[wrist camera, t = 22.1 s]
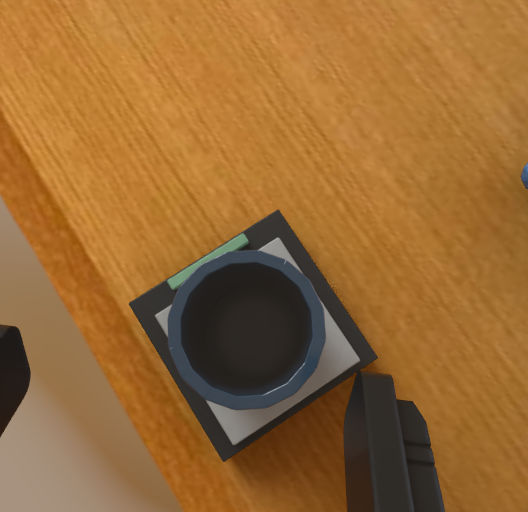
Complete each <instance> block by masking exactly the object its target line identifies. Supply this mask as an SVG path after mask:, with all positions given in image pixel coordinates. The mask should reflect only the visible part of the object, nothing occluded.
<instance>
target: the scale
mask: <svg viewBox="0 0 528 512" xmlns="http://www.w3.org/2000/svg"><path fill="white" fill-rule="evenodd" d="M245 250H260V251H263V252H266V253H269V254H271V255H274V256H277V257H280V258H283V259H285V260H287V261H289V262H290V263H291V264H292V265H293V266H294V267H296V268H297V269H298V270H299V271H300V272H301V273H302V274H304V275H305V276H306V277H307V278H308V279H309V281H311V283H312V285H313V287H314V289H315V291H316V293H317V295H318V297H319V299H320V301H321V303H322V305H323V309H324V317H325V330H326V341H325V345H324V348H323V351H322V354H321V357H320V360H319V363H318V366H317V368H316V370H315V372H314V373H313V374H312V375H311V377H310V378H309V379H308V380H307V381H306V382H305V384H304V385H303V386H302V387H301V388H300V389H299V391H298V392H297V393H295V394H294V395H293V396H291V397H289V398H287V399H285V400H283V401H281V402H279V403H277V404H275V405H273V406H271V407H269V408H267V407H266V408H265V409H251V410H232V409H229V408H226V407H224V406H221V405H218V404H215V403H213V402H210V401H207V400H205V399H204V398H202V397H201V396H200V395H199V394H198V393H197V392H196V391H195V390H194V389H193V388H192V387H191V386H190V385H188V384H187V383H186V382H185V381H184V380H183V379H182V377H181V376H180V374H179V372H178V369H177V367H176V365H175V363H174V360H173V358H172V356H171V354H170V351H169V348H168V322H167V318H168V314H169V311H170V309H171V306H172V303H173V301H174V298H175V295H176V293H177V290H178V288H179V287H180V285H181V284H182V283H183V282H184V281H185V280H186V279H187V278H188V277H189V276H190V275H191V273H192V272H193V271H194V270H195V269H196V268H197V267H198V266H199V265H201V264H202V263H204V262H206V261H208V260H211V259H213V258H215V257H217V256H219V255H221V254H223V253H225V252H228V251H245ZM129 305H130V307H131V308H132V310H133V312H134V313H135V315H136V317H137V318H138V320H139V322H140V323H141V325H142V327H143V329H144V330H145V332H146V334H147V335H148V337H149V339H150V340H151V342H152V344H153V345H154V347H155V349H156V350H157V352H158V354H159V355H160V357H161V359H162V360H163V362H164V364H165V365H166V367H167V369H168V370H169V372H170V374H171V375H172V377H173V379H174V380H175V382H176V384H177V385H178V387H179V389H180V390H181V392H182V394H183V395H184V397H185V399H186V400H187V402H188V404H189V405H190V407H191V409H192V410H193V412H194V414H195V415H196V417H197V419H198V420H199V422H200V424H201V425H202V427H203V429H204V430H205V432H206V434H207V436H208V437H209V439H210V441H211V442H212V444H213V446H214V447H215V449H216V451H217V452H218V454H219V456H220V457H221V459H222V461H223V462H224V461H226V460H227V459H229V458H230V457H232V456H233V455H235V454H236V453H238V452H239V451H241V450H242V449H244V448H245V447H247V446H248V445H250V444H251V443H253V442H254V441H256V440H257V439H258V438H260V437H261V436H263V435H264V434H266V433H267V432H269V431H270V430H272V429H273V428H275V427H276V426H278V425H279V424H281V423H282V422H284V421H285V420H287V419H288V418H290V417H291V416H293V415H294V414H295V413H297V412H298V411H300V410H301V409H303V408H304V407H306V406H307V405H309V404H310V403H312V402H313V401H315V400H316V399H318V398H319V397H321V396H322V395H324V394H325V393H327V392H328V391H330V390H331V389H333V388H334V387H335V386H337V385H338V384H340V383H341V382H343V381H344V380H346V379H347V378H349V377H350V376H352V375H353V374H355V373H356V372H358V371H359V370H361V369H362V368H364V367H365V366H367V365H368V364H370V363H371V362H372V361H374V360H375V359H377V358H378V357H377V355H376V354H375V352H374V351H373V349H372V348H371V346H370V345H369V344H368V342H367V341H366V339H365V338H364V336H363V335H362V333H361V332H360V330H359V329H358V327H357V326H356V324H355V323H354V321H353V320H352V318H351V317H350V315H349V314H348V312H347V311H346V309H345V308H344V306H343V305H342V303H341V302H340V300H339V299H338V297H337V296H336V294H335V293H334V291H333V290H332V288H331V287H330V285H329V284H328V282H327V281H326V279H325V278H324V276H323V275H322V273H321V272H320V270H319V269H318V267H317V266H316V264H315V263H314V261H313V260H312V258H311V257H310V256H309V254H308V253H307V251H306V250H305V248H304V247H303V245H302V244H301V242H300V241H299V239H298V238H297V236H296V235H295V233H294V232H293V230H292V229H291V227H290V226H289V224H288V223H287V221H286V220H285V218H284V217H283V215H282V214H281V212H280V211H279V210H276V211H275V212H273V213H272V214H270V215H268V216H267V217H265V218H264V219H262V220H260V221H259V222H257V223H256V224H254V225H252V226H251V227H249V228H248V229H246V230H244V231H243V232H241V233H240V234H238V235H236V236H235V237H233V238H232V239H230V240H228V241H227V242H225V243H224V244H222V245H221V246H219V247H217V248H216V249H214V250H213V251H211V252H209V253H208V254H206V255H205V256H203V257H201V258H200V259H198V260H197V261H195V262H193V263H192V264H190V265H189V266H187V267H185V268H184V269H182V270H181V271H179V272H177V273H176V274H174V275H173V276H171V277H170V278H168V279H166V280H165V281H163V282H162V283H160V284H158V285H157V286H155V287H154V288H152V289H150V290H149V291H147V292H146V293H144V294H142V295H141V296H139V297H138V298H136V299H134V300H133V301H131V302H130V303H129Z"/></svg>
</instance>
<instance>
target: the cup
mask: <svg viewBox="0 0 528 512" xmlns="http://www.w3.org/2000/svg"><path fill="white" fill-rule="evenodd" d="M167 322H168V348H169V351H170V354H171V356H172V358H173V360H174V363H175V365H176V367H177V369H178V372H179V374H180V376H181V377H182V379H183V380H184V381H185V382H186V383H187V384H188V385H190V386H191V387H192V388H193V389H194V390H195V391H196V392H197V393H198V394H199V395H200V396H201V397H202V398H204V399H205V400H207V401H210V402H213V403H215V404H218V405H221V406H224V407H226V408H229V409H232V410H251V409H265V408H266V407H267V408H269V407H271V406H273V405H275V404H277V403H279V402H281V401H283V400H285V399H287V398H289V397H291V396H293V395H294V394H295V393H297V392H298V391H299V389H300V388H301V387H302V386H303V385H304V384H305V382H306V381H307V380H308V379H309V378H310V377H311V375H312V374H313V373H314V372H315V370H316V368H317V366H318V363H319V360H320V357H321V354H322V351H323V348H324V345H325V341H326V330H325V317H324V309H323V305H322V303H321V301H320V299H319V297H318V295H317V293H316V291H315V289H314V287H313V285H312V283H311V281H309V279H308V278H307V277H306V276H305V275H304V274H302V273H301V272H300V271H299V270H298V269H297V268H296V267H294V266H293V265H292V264H291V263H290V262H289V261H287V260H285V259H283V258H280V257H277V256H274V255H271V254H269V253H266V252H263V251H260V250H245V251H228V252H225V253H223V254H221V255H219V256H217V257H215V258H213V259H211V260H208V261H206V262H204V263H202V264H201V265H199V266H198V267H197V268H196V269H195V270H194V271H193V272H192V273H191V275H190V276H189V277H188V278H187V279H186V280H185V281H184V282H183V283H182V284H181V285H180V287H179V288H178V290H177V293H176V295H175V298H174V301H173V303H172V306H171V309H170V311H169V314H168V318H167Z"/></svg>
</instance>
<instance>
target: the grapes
mask: <svg viewBox="0 0 528 512" xmlns="http://www.w3.org/2000/svg"><path fill="white" fill-rule="evenodd" d="M521 180H522V182H523V184H524V186H525V188H526V189H528V163H527V164H526V165H525V166H524V168H523V171H522V174H521Z"/></svg>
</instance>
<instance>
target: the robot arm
mask: <svg viewBox="0 0 528 512" xmlns="http://www.w3.org/2000/svg"><path fill="white" fill-rule="evenodd" d="M29 382H30V367H29V364H28V360H27V356H26V352H25V349H24V345H23V341H22V338H21V334H20V331H19V329H18V328H17V327H15V326H7V325H0V437H1V435H2V433H3V432H4V430H5V428H6V427H7V425H8V423H9V421H10V420H11V418H12V416H13V415H14V413H15V412H16V410H17V408H18V407H19V405H20V403H21V402H22V400H23V398H24V396H25V395H26V392H27V390H28V387H29ZM430 445H431V443H430V438H429V434H428V429H427V424H426V421H425V420H424V418H423V417H422V415H421V413H420V412H419V410H418V409H417V407H416V406H415V404H414V403H413V401H405V400H398V399H396V395H395V389H394V383H393V378H392V376H391V375H388V374H380V373H372V372H364V371H358V373H357V375H356V378H355V382H354V385H353V389H352V392H351V396H350V399H349V402H348V406H347V409H346V414H345V420H344V456H345V476H346V495H347V512H445V508H444V504H443V499H442V494H441V490H440V485H439V480H438V476H437V471H436V467H434V463H435V462H434V457H433V452H432V449H431V448H430Z"/></svg>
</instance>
